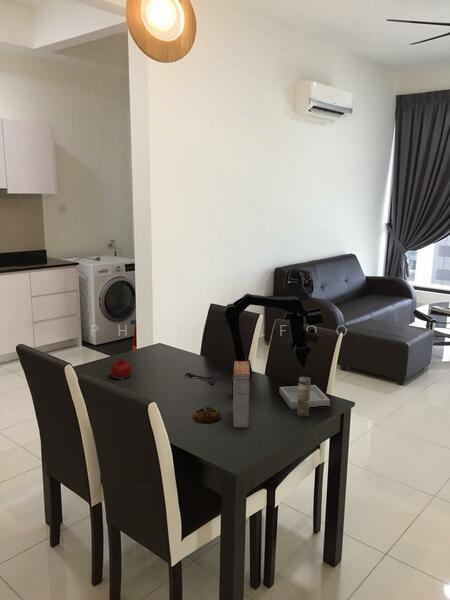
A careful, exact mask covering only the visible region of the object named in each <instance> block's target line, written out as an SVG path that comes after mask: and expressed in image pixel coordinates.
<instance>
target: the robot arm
mask: <svg viewBox="0 0 450 600" xmlns="http://www.w3.org/2000/svg"><path fill="white" fill-rule="evenodd" d="M250 306H258V307H266V308H274V309H280V310H282V311H286V313H285V314H284V315H283V319H284V320H288V323H289V333H290V335H289V337H288V341H289V345H290V347H291V348H292V351H293V353H294V355H295V357H296V358H297V360H298V363H299V364H300V366H301V368H302V369H305V368H306V362H307V357H308V355H310V354H311V353H312V349H311V346H310V345H309V344H308V342H311V343H315V344H319V342H320V337H321V335H320V334H319V333H318V332H316V331H315V329H314V328H309V330H306V329H305V325H307V326H309V327H311V326H317V325H322V324H323V323H324V321H323V320H324V319H323V316H322V312H321V308H320V307H319V306H317V307H313V308H308V309H306V306H303V303H302V302H301V300H300V299H299V297H297V296H295V295H291V296H290V295H288V296H281V297H275V296H274V297H273V296H268V295H267V296H266V295H260V294H259V295H258V294H251V293H245V294H244V295H243V296H242V297H240V298H239V299H237V300H235V301H234V302H232V303H228V304H227V305H226V306H225V307H224V310H223V311H224V317H225V320H226V322H227V325H228V326H229V329H230V334H231V337H232V342H233V343H232V344H233V347H234V348H233V349H234V352H235V357H236V361H247V362H249V373H250V380H251V379H252V374H254V371H253V369H252V365H251V364H252V363H251V359H248V360H247V358H246V354H245V351H244V344H243V340H242V335H241V329H240V315H241V314H243V312H244V311H245V310H246V309H247V308H248V307H250ZM304 323H305V324H304ZM233 375H234V372H232V374H231V381H230V393H229V396H230V399H231V401H233Z"/></svg>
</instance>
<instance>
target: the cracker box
mask: <svg viewBox="0 0 450 600" xmlns="http://www.w3.org/2000/svg"><path fill="white" fill-rule="evenodd" d="M233 362H234V364H233V373H234V375H233V400H232V425H233V426H232V427H233V429H234V428H236V429H237V428H239V429H240V428H241V429H242V428H244V429H245V428H246V429H249V424H250V423H249V421H250V420H249V419H250V418H249V417H250V380H251V379H250V373H249V362H247V361H237V360H235V361H233Z"/></svg>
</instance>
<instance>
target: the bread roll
mask: <svg viewBox="0 0 450 600" xmlns="http://www.w3.org/2000/svg"><path fill="white" fill-rule="evenodd" d="M192 418H193V420H194V421H195V422H198V423H201V424H216V423H218V422H219V421H220V420H221V418H222V413H221V411H220V410H219V409H218V408H216V407H212V406H202V407H200V408H197V409H196V410H195V411H194V412H193V414H192Z"/></svg>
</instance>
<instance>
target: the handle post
mask: <svg viewBox="0 0 450 600" xmlns="http://www.w3.org/2000/svg"><path fill="white" fill-rule="evenodd" d="M310 385H311V377H307V376H300V377H299V378H298V386H299V388H298V407H297V409H296V410H297V412H296V415H297V416H299V417H301V418H302V417H303V418H304V417H305V416H306V417H308V416H309V414H310V411H309V410H310V408H309V400H310ZM306 417H305V418H306Z"/></svg>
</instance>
